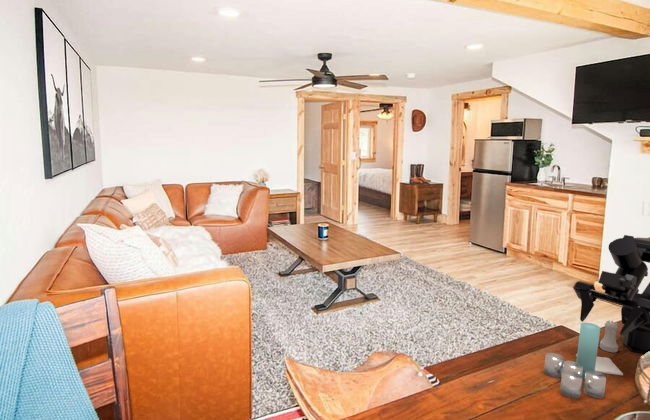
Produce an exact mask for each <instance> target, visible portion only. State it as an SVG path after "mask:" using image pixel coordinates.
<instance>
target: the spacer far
mask: <svg viewBox="0 0 650 420" xmlns="http://www.w3.org/2000/svg"><path fill="white" fill-rule="evenodd" d="M560 380H561V381H560V389H559V392H560V394H561V395H563V396H564V397H566V398H569V399H571V400H572V399H573V400H577V399H580V398H581V393H582V387H583V380H584V379H583V378H582V376H581V375H579V374H578V373H575V372H572V371H563V372H562V377H561V379H560Z"/></svg>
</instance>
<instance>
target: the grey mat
mask: <svg viewBox="0 0 650 420" xmlns="http://www.w3.org/2000/svg"><path fill="white" fill-rule="evenodd" d="M575 357H576V358H577V353H576V354H575ZM595 371H597V372H600V373H602V374H607V375H608V374H610V375H616V376H624V373H623V372H622V371H621V370H620V369H619V368H618V367H617V366H616V364H615V363H614V362H613V361H612V360H611V358H609V357H604V356H603V357H601V356H597V358H596V366H595Z"/></svg>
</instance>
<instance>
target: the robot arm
mask: <svg viewBox="0 0 650 420" xmlns="http://www.w3.org/2000/svg"><path fill="white" fill-rule="evenodd" d="M608 251H609V253H610V255H611V257H612V260H613V262H614V264H615V265H616V266H617V267H618V268H617V269H616V271H615V273H614V272H610V271H604V270H602V271H601V274H600V276H599V278H598V280H597V281H598V284H600V285H602V286H601V289H602V290H603V291H604V292H602V291H600V290H596V288H595V285H594V284H592V283H588V282H585V281H582V280H579V281H576V282H575V283H574V285H573V286H572V288H573V290H574V293H575V294H576V296H577V298H578V299H579V300H580V301H581V302H580V303H581V306H580V314H579V315H580V316H579V320H580V322H581V323H584V321H585V320H586V319H587V317H588V316H589V314H590V313H591V311H592V309H593V308H594V307H595V303H594V302H596V301H597V299H598V300H601V301H605V302H607V303H612V304H615V305H618V306H621V310H620V314H621V315H620V316H621V324H622V325H623V326H622V327H621V329H620V331H619V335H620V336H622V337H623V339H622V340H621V343H622V344H624V345H625V346H626V348H628V349H629V350H630V351H631V352H633V353H641V354H647V353H646V352H648V351H650V281H649V283H648V284H647V285H646V287H645V288H644V289H643V292H642V293H639V292H640V289H639V288H640V286H641V283H642V281H643V280H644V278H645V277H648V275H649V272H648V270H649V269H648V266H647V264H646V263H648V264H649V263H650V237H634V236H633V235H627V234H624V235H623V237H621V238H617V239H616V238H615V239H614V240H613V241H611V242H610V243H609V244H608Z"/></svg>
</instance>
